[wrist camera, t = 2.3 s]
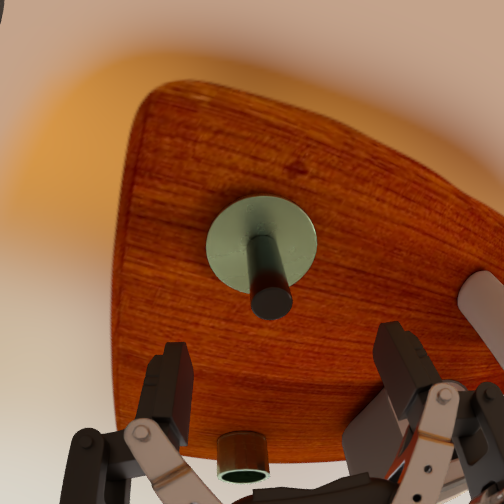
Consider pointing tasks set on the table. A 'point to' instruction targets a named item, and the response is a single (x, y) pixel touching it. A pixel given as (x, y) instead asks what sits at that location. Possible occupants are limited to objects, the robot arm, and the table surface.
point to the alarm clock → (390, 444)
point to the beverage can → (485, 310)
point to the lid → (262, 250)
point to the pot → (242, 458)
